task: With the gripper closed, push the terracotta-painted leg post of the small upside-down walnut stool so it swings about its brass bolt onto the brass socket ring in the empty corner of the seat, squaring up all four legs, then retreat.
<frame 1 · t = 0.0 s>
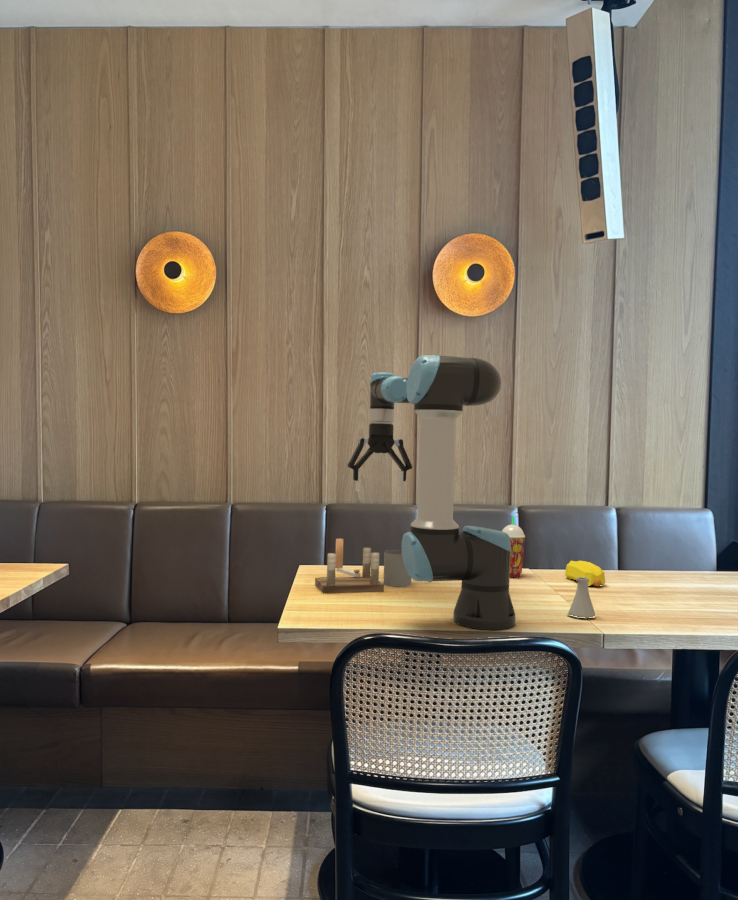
hand: (379, 491, 214), 28 cm above the table, fingers open, 13 cm apart
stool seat: (348, 587, 205), on the table
smoothie: (511, 577, 230), on the table
cup: (397, 585, 212), on the table
hinged leg: (347, 557, 214), point 7 cm above the table, hinge at 70.0°
yellow lumpy oval: (584, 583, 224), on the table
flask: (581, 617, 179), on the table
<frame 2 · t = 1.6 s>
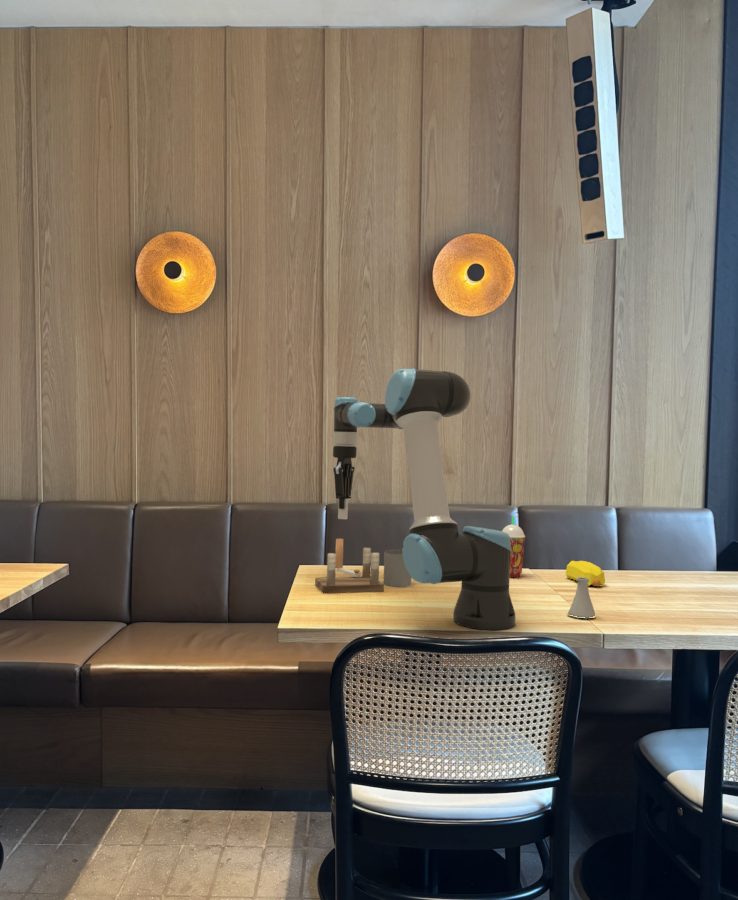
hand: (342, 518, 223), 18 cm above the table, fingers closed
nothing on the table moved.
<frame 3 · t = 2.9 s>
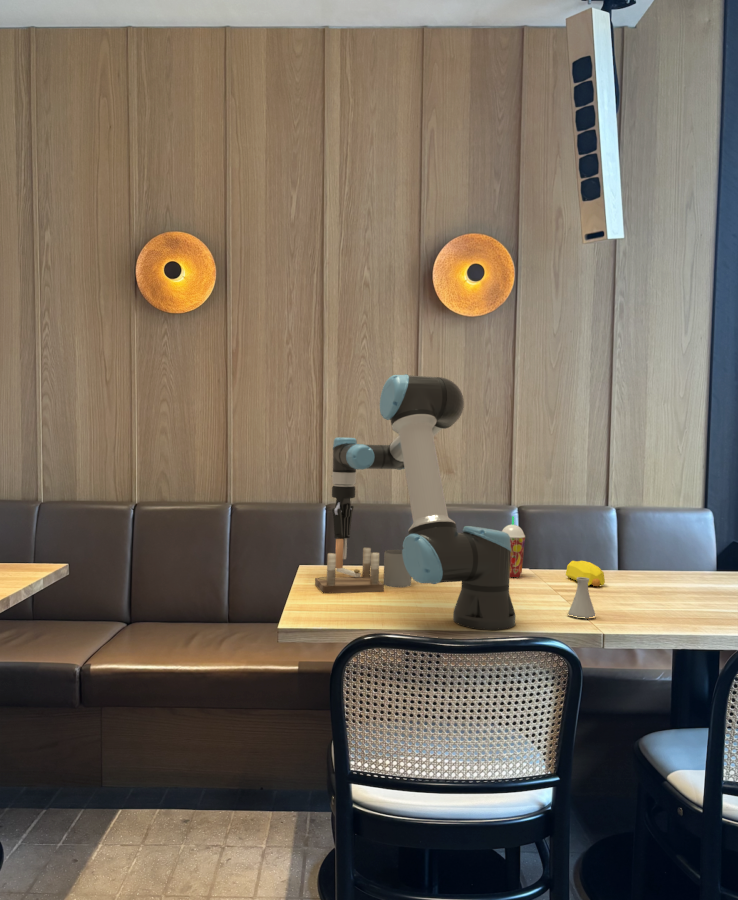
hand: (341, 558, 223), 5 cm above the table, fingers closed
hinged leg: (347, 557, 214), point 7 cm above the table, hinge at 70.0°, touching gripper
everything else where it was.
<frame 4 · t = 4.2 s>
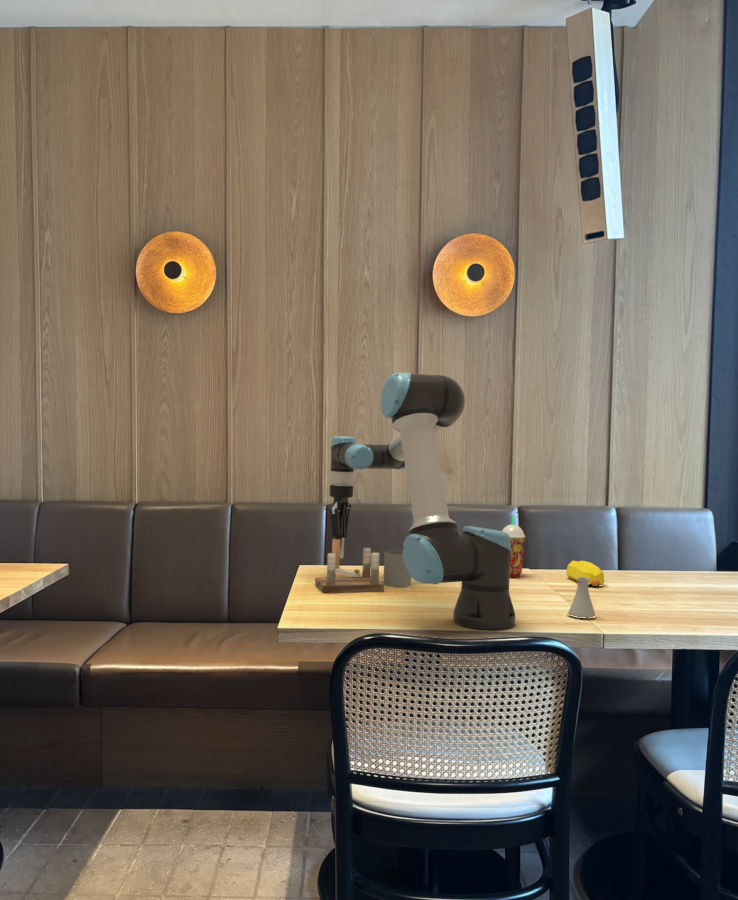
hand: (338, 557, 222), 6 cm above the table, fingers closed
hinged leg: (345, 557, 214), point 7 cm above the table, hinge at 62.5°, touching gripper
everything else where it was.
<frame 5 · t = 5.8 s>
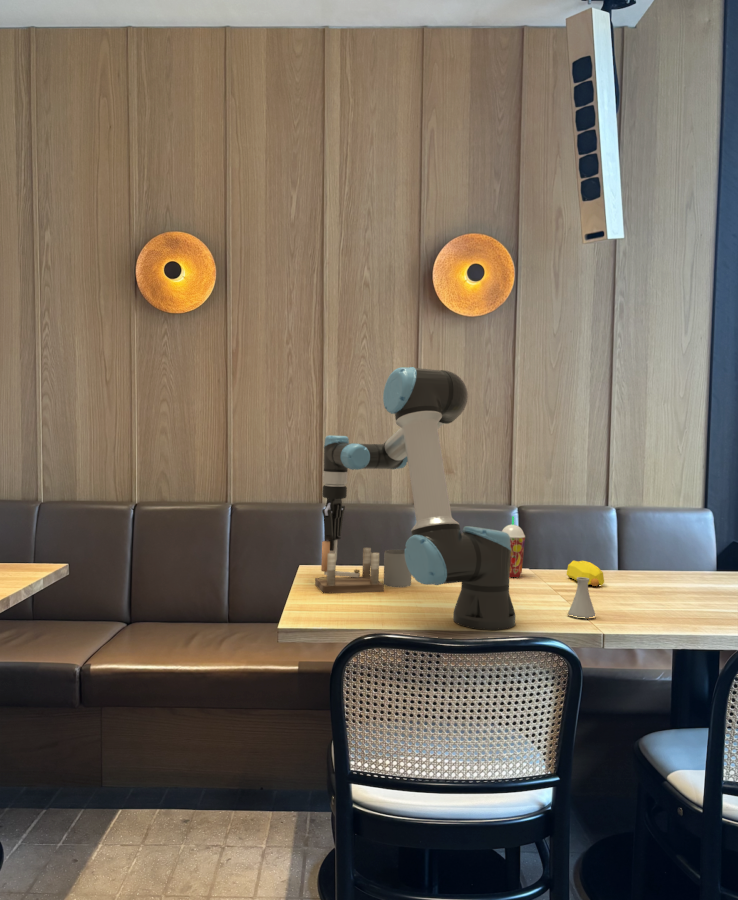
hand: (331, 560, 216), 6 cm above the table, fingers closed
hinged leg: (340, 558, 211), point 7 cm above the table, hinge at 28.2°, touching gripper
everything else where it was.
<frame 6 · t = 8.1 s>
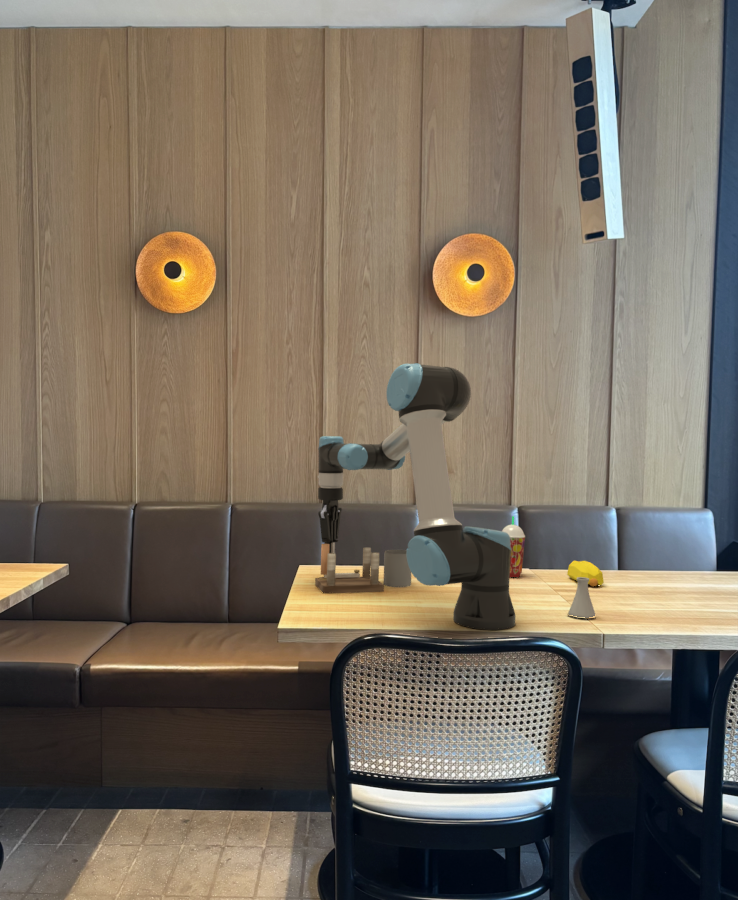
hand: (329, 563, 212), 6 cm above the table, fingers closed
hinged leg: (340, 560, 209), point 7 cm above the table, hinge at -0.5°, touching gripper
everything else where it was.
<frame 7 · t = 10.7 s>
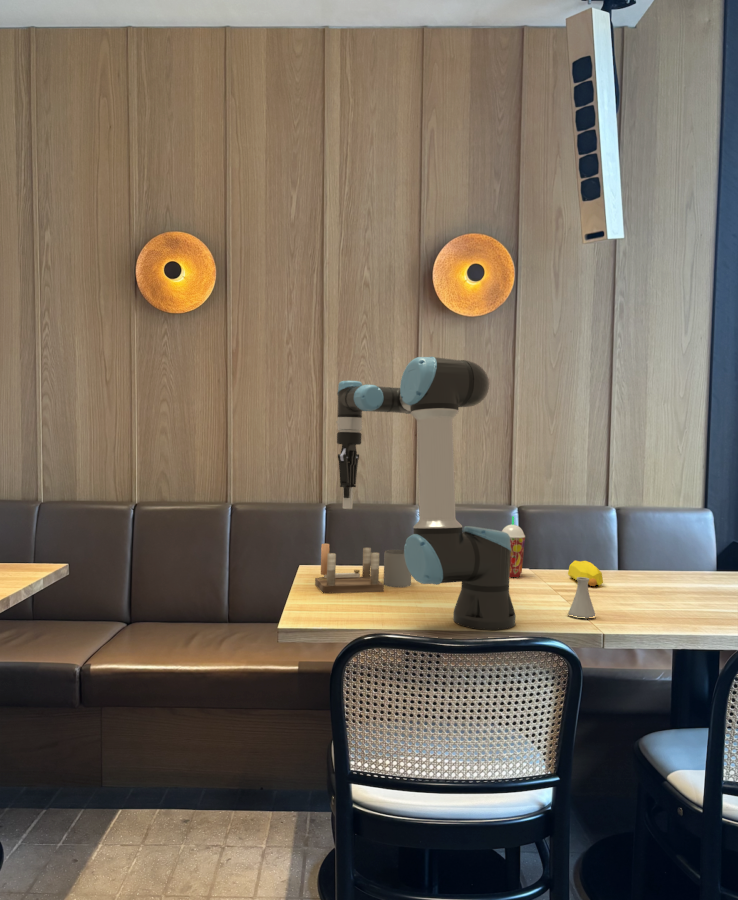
hand: (347, 508, 212), 23 cm above the table, fingers closed
hinged leg: (340, 560, 209), point 7 cm above the table, hinge at -0.9°
everything else where it was.
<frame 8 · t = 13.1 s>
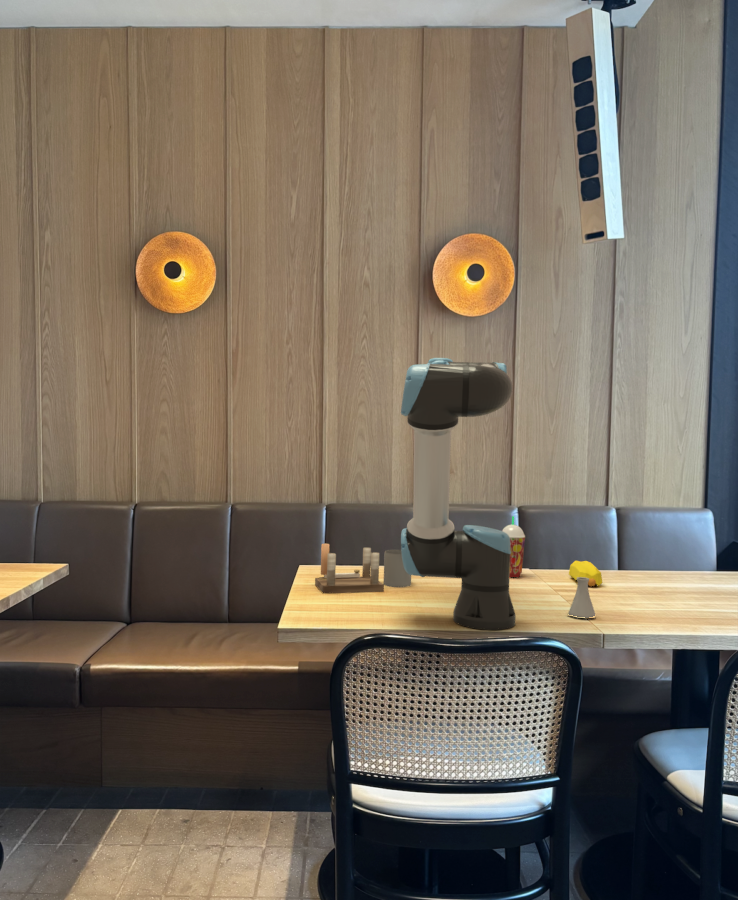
hand: (436, 491, 204), 29 cm above the table, fingers closed
nothing on the table moved.
at the end: hinged leg at -1° (first picture: +70°) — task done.
